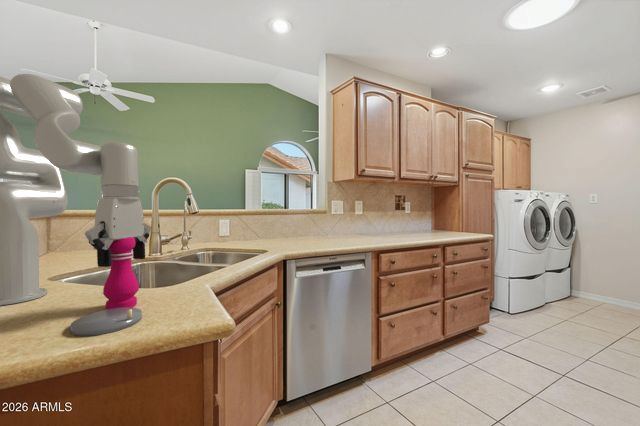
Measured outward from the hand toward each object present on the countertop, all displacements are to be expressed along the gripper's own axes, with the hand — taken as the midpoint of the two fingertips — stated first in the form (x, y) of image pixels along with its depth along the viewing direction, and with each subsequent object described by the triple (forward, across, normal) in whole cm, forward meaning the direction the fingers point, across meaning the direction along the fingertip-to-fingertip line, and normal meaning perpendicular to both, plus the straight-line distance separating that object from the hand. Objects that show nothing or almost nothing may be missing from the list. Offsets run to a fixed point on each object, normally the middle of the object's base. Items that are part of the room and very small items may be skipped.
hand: (123, 262), depth 68 cm
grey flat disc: (+11, +9, +5) cm, 15 cm away
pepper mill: (+11, 0, -1) cm, 11 cm away
